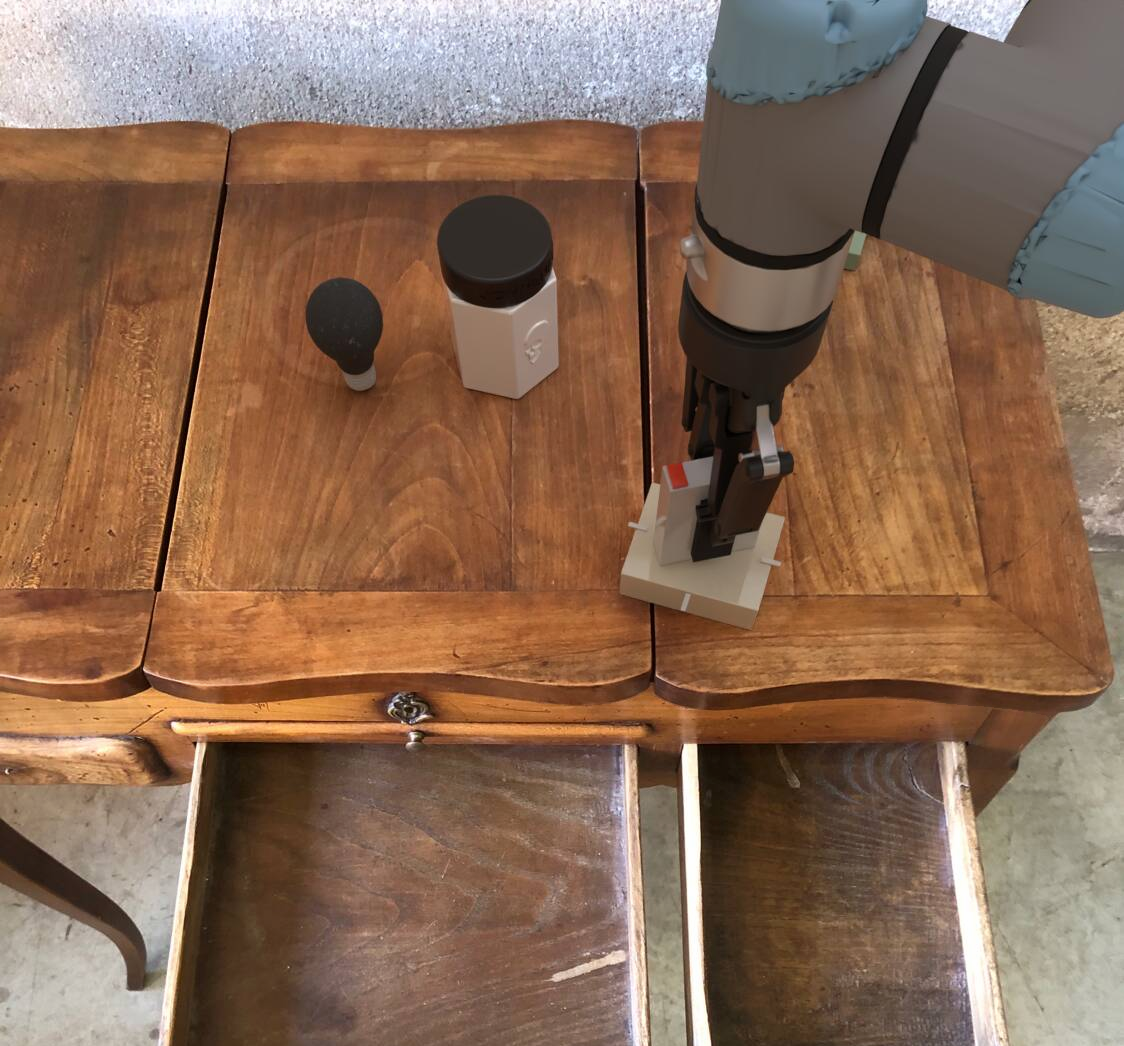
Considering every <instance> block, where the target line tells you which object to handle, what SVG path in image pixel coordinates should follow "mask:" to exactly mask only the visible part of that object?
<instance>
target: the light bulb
mask: <svg viewBox="0 0 1124 1046" xmlns="http://www.w3.org/2000/svg"><path fill="white" fill-rule="evenodd" d="M304 319H305V325H306V329H307V332H308V333H307V334H308V335H309V336H310V339H311V340H312V342H313V344H314V345H315V346H316V348H318V350H319V351H321V352H322V353H323V354H324V355H326V356H327V357H328V358H330V359H332V360H333V361H335V363H336V365H337V366H338V368H339V369H340V370H341V371H342V375H343V378H344V381H345V383H346V384H347V386H348V387H349V388H350V389H352V390H354V391H366V390H368V389H370V388H371V387H372V386H373V385H374V384H375V383H376V381H377V375H376V373H377V371H376V368H375V364H374V362H375V361H374V360H375V351H376V349H377V347H378V345H379V343H380V341H381V339H382V335H383V330H384V315H383V312H382V308H381V305H380V302H379V301H378V298H377V297H376V296H375V295H374V293H373V292H372V291H371V290H370V289H369V288H368V287H367V286H366V285H365V284H363V283H362V282H360V281H357V280H355V279H353V278H350V277H349V278H348V277H340V276H339V277H333V278H329V279H327V280H325V281H323V282H321V283H320V284H318V285H317V287H316V288H315V289H313V291H312V292H311V294H310V295H309V298H308V300H307V303H306V306H305V318H304Z"/></svg>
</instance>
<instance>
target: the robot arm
mask: <svg viewBox="0 0 1124 1046" xmlns="http://www.w3.org/2000/svg"><path fill="white" fill-rule="evenodd" d="M928 1H929V0H720V4H719V9H718V15H717V21H716V26H715V32H714V37H713V42H712V47H711V49H710V50H709V51H708V53H707V56H708V57H707V62H706V67H705V68H706V69H705V75H706V79H707V81H706V82H707V83H706V91H705V101H704V112H703V120H702V129H701V130H702V131H701V141H700V149H699V160H698V169H697V179H696V185H695V189H694V198H693V199H694V200H693V209H692V221H691V229H690V233H689V235H687V236H685V237H682V238H681V239H680V241H679V255H680V256H681V258H683V259H685V260H686V270H685V273H684V276H683V281H682V289H681V296H680V297H681V298H680V305H679V313H678V321H677V323H678V324H677V332H678V334H677V335H678V340H679V343H680V346H681V349H682V351H683V353H684V355H685V356H686V363H685V375H684V376H685V377H684V391H683V399H682V400H683V403H682V413H681V416H682V417H681V426H682V427H681V428H683V431H684V432H685V433H689V432H690V436H689V440H688V444H687V454H688V455H687V456H689V458H690V461H692V460H697V459H702V458H707V457H713V463H712V470H711V478H710V485H709V492H708V499H704V500H701V502H700V505H696V516H697V522H696V528H695V533H694V538H693V543H692V548H691V557H692V560H693V562H698V561H703V560H708V559H713V558H718V557H724V556H729V555H731V552H732V548H733V544H734V540H735V536H736V535H740V534H745V533H750V532H755V531H758V530H759V528H760V526H761V523H762V521H763V519H764V517H765V515H766V513H768V510H769V508H770V506H771V505H772V502H773V500H774V497H775V495H776V494H777V491H778V489H779V487H780V484H781V482H782V480H783V478H785V477H788V476H789V475H792V474H793V473H794V470H795V459H794V455H793V453H792V451H790V450H786V451H784V447H783V445H782V444H778V445H777V442H776V437H775V429H774V427H776V426H777V425H778V423H779V421H780V420H781V417H782V414H783V401H784V398H785V393H786V392H785V391H786V388H787V387H789V386H790V384H791V383H792V382H793V381H794V380H795V379H797V378H798V377H800V375H801V374H802V373H804V372H805V370H807V369H808V368H809V366H810V365H811V364H812V362H813V361H814V359H815V358H816V356H817V355H818V352H819V350H820V346H821V343H822V341H823V337H824V333H825V330H826V327H827V324H828V320H829V317H830V314H831V310H832V308H833V303H834V299H835V298H836V296H837V294H838V290H839V287H840V283H841V280H842V276H843V273H844V266H845V263H846V259H847V256H848V253H849V249H850V246H851V242H852V239H853V236H854V232H855V230H856V231H858V232H861V233H865V234H866V236H867V235H868V236H869V237H873V238H875V239H877V240H881V241H884V242H886V243H889V244H890V245H894V246H896V247H898V248H900V249H903V250H906V251H908V252H911V253H912V254H916V255H918V256H920V257H923V258H926V259H928V260H930V261H932V262H936V263H938V264H940V265H943V266H944V267H948V268H950V269H953V270H955V271H958V272H960V273H962V274H965V275H966V276H967V275H968V276H970V277H972V278H975V279H977V280H979V281H982V282H985V283H987V284H990V285H992V286H994V287H997V288H999V289H1002V290H1004V291H1007V292H1008V293H1009V295H1010V296H1011V297H1013V296H1014V297H1015V298H1017V299H1019V300H1023V301H1024V300H1027V299H1031V300H1034V301H1038V302H1041V303H1044V304H1046V305H1047V304H1048V305H1051V306H1053V307H1057V308H1061V309H1063V310H1067V311H1070V312H1073V313H1077V314H1080V315H1084V316H1086V317H1090V318H1093V319H1100V320H1101V319H1110V318H1113V317H1115V316H1118V315H1120V314H1122V313H1123V312H1124V0H1027V2H1026V3H1025V4H1024V6H1023V7H1022V9H1021V11H1020V12H1019V14H1018V15H1017V17H1016V19H1015V21H1014V23H1013V24H1012V26H1011V28H1010V29H1009V31H1008V33H1007V34H1006V36H1005V39H1004V40H1003V41H1000V40H997V39H994V38H992V37H989V36H986V35H982V34H979V33H976V32H974V31H970V30H969V31H968V30H966V29H963V28H960V27H957V26H953V25H952V24H951V23H949V22H946V21H943V20H940V19H938V18H934V17H930V16H927V14H928V11H929V10H928Z"/></svg>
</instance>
